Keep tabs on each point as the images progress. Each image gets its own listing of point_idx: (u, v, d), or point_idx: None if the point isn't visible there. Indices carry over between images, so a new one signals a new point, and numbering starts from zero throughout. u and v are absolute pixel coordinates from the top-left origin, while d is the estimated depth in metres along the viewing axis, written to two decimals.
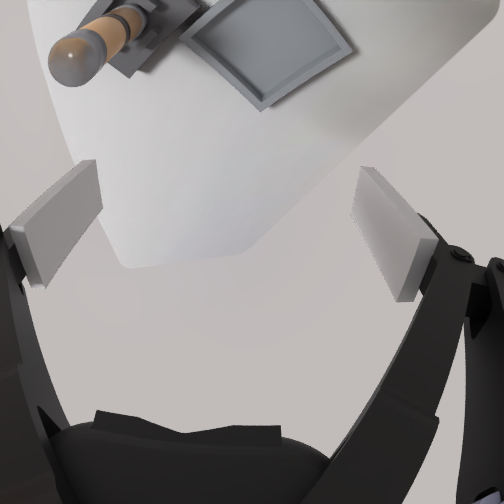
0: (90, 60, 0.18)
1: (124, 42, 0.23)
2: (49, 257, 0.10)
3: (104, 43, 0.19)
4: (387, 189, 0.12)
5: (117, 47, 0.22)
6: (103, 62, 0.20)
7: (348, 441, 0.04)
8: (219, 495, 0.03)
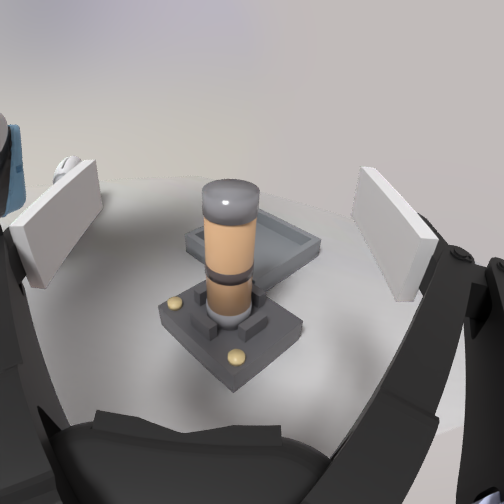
0: (233, 181, 0.27)
1: None
2: (49, 257, 0.10)
3: None
4: (387, 189, 0.12)
5: None
6: None
7: (348, 441, 0.04)
8: (218, 495, 0.03)
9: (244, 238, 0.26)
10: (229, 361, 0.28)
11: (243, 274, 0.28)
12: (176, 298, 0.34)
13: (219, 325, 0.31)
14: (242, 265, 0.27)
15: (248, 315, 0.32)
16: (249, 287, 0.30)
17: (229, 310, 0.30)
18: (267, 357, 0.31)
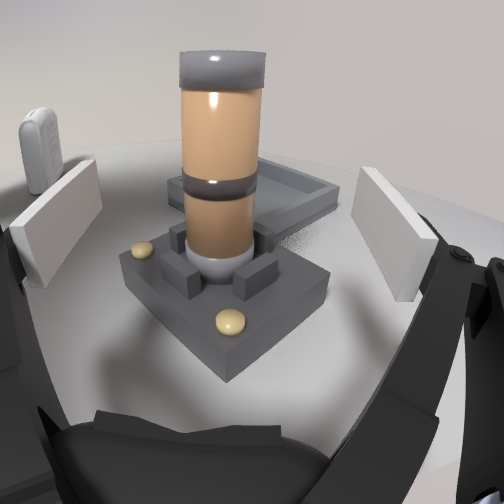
0: None
1: None
2: (49, 257, 0.10)
3: None
4: (387, 189, 0.12)
5: None
6: None
7: (348, 441, 0.04)
8: (219, 495, 0.03)
9: (243, 115, 0.15)
10: (218, 328, 0.17)
11: (241, 181, 0.17)
12: (144, 243, 0.23)
13: (204, 276, 0.21)
14: (239, 164, 0.17)
15: (249, 261, 0.21)
16: (250, 210, 0.19)
17: (219, 248, 0.19)
18: (280, 326, 0.20)
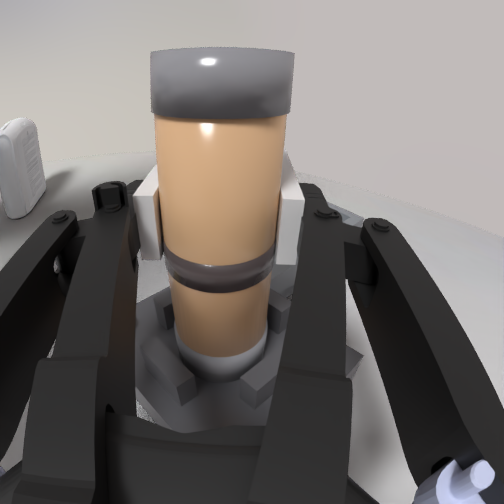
0: None
1: None
2: None
3: None
4: None
5: None
6: None
7: (265, 430, 0.04)
8: (218, 495, 0.03)
9: (257, 163, 0.09)
10: None
11: (252, 263, 0.11)
12: None
13: (201, 372, 0.15)
14: (250, 241, 0.11)
15: (261, 352, 0.15)
16: (265, 295, 0.13)
17: (220, 346, 0.13)
18: None
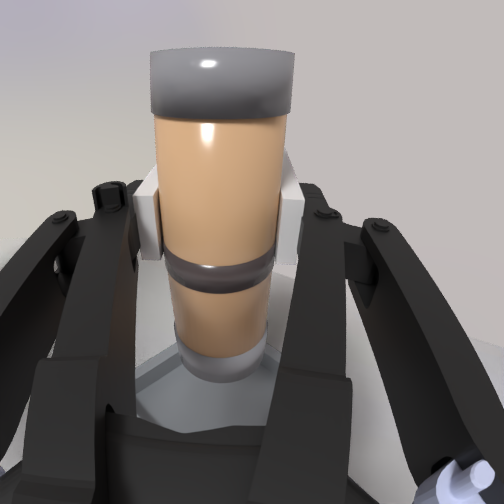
0: None
1: None
2: None
3: None
4: None
5: None
6: None
7: (266, 430, 0.04)
8: (218, 495, 0.03)
9: (257, 164, 0.09)
10: None
11: (252, 264, 0.11)
12: None
13: (201, 373, 0.15)
14: (250, 241, 0.11)
15: (261, 352, 0.15)
16: (265, 296, 0.13)
17: (220, 346, 0.13)
18: None
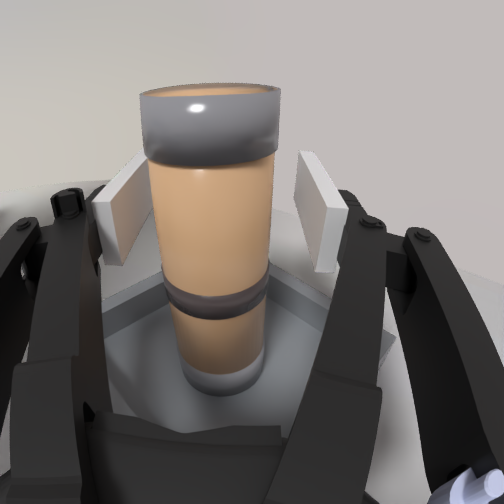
0: (219, 84, 0.11)
1: None
2: (125, 235, 0.12)
3: None
4: (315, 168, 0.14)
5: None
6: None
7: (292, 431, 0.04)
8: (218, 495, 0.03)
9: (245, 203, 0.10)
10: None
11: (245, 292, 0.12)
12: None
13: (203, 388, 0.15)
14: (243, 273, 0.11)
15: (258, 367, 0.16)
16: (260, 318, 0.14)
17: (219, 365, 0.14)
18: None
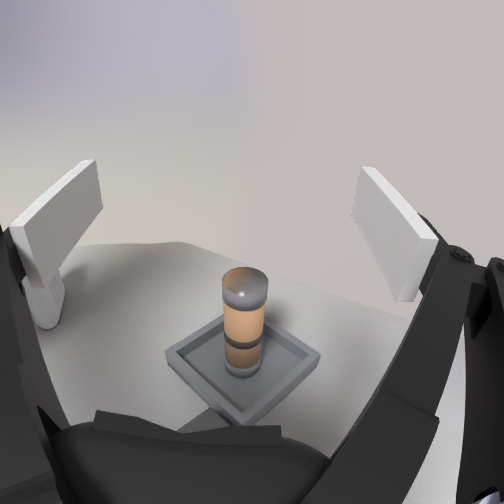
0: (246, 270, 0.34)
1: None
2: (49, 257, 0.10)
3: None
4: (387, 189, 0.12)
5: None
6: None
7: (348, 441, 0.04)
8: (218, 495, 0.03)
9: (256, 318, 0.33)
10: None
11: (255, 340, 0.35)
12: None
13: (235, 374, 0.38)
14: (254, 335, 0.34)
15: (258, 366, 0.38)
16: (259, 348, 0.36)
17: (243, 365, 0.37)
18: None
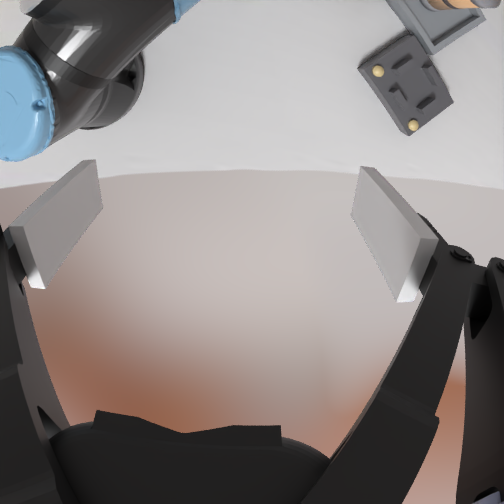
0: None
1: None
2: (49, 257, 0.10)
3: None
4: (387, 189, 0.12)
5: None
6: None
7: (348, 441, 0.04)
8: (219, 495, 0.03)
9: (478, 7, 0.22)
10: (409, 127, 0.40)
11: (462, 8, 0.25)
12: (379, 68, 0.35)
13: (427, 7, 0.30)
14: None
15: None
16: None
17: (440, 9, 0.28)
18: None
